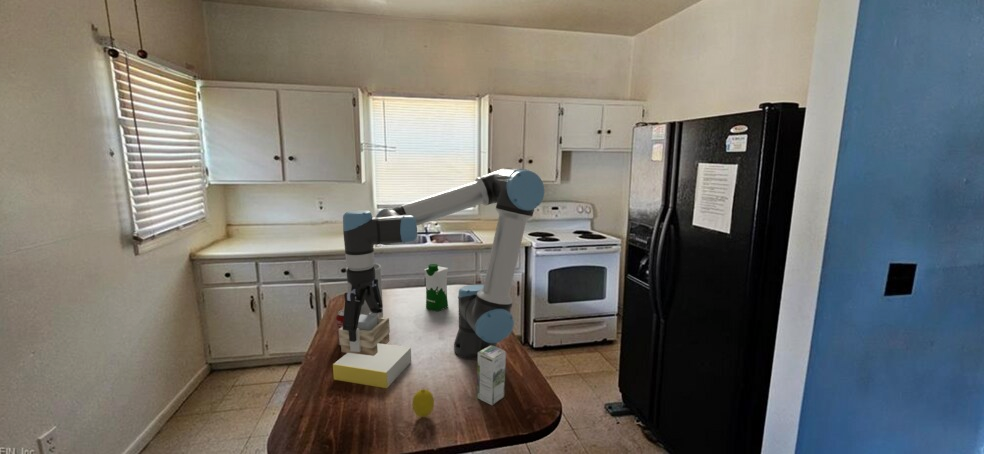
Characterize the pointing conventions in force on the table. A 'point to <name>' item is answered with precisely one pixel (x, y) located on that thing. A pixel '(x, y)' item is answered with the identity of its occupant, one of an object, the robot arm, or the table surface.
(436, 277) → the milk carton
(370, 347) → the wooden crate with cube
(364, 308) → the cylinder vase
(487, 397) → the syrup box
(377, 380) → the dock
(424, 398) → the lemon
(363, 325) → the cargo block
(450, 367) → the table surface
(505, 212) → the robot arm
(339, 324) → the soda can
